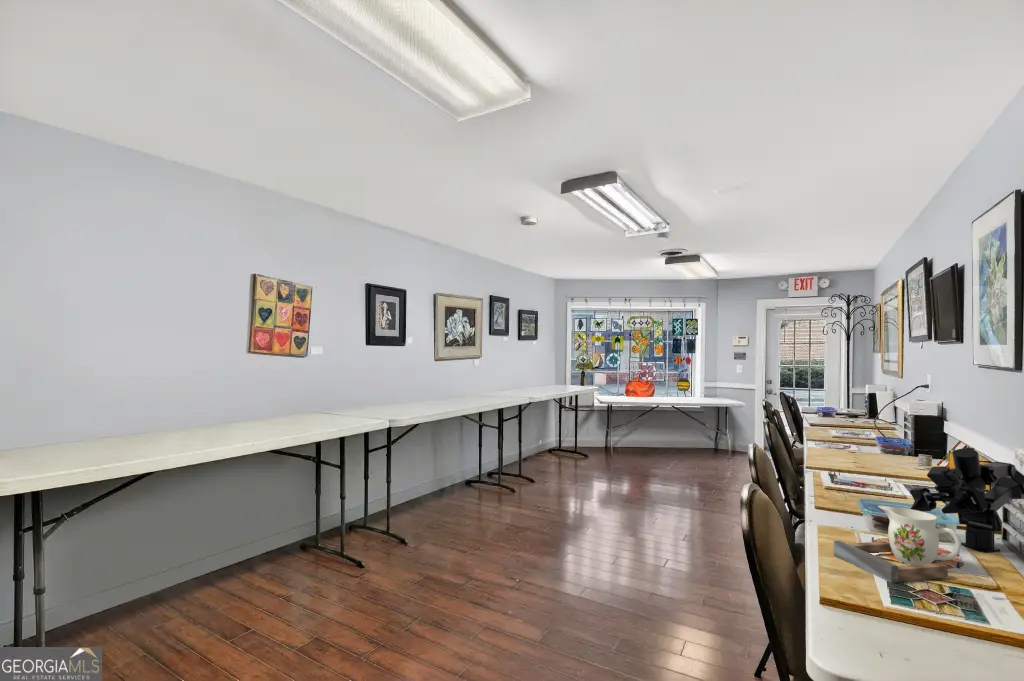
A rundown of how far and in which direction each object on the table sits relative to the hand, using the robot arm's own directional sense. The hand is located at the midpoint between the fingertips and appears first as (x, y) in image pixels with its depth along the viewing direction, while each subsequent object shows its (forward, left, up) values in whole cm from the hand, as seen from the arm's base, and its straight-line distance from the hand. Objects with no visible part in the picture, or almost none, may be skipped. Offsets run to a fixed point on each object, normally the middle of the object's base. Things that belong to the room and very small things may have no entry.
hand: (926, 511), depth 149 cm
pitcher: (+6, +3, -13) cm, 15 cm away
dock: (+16, +3, -13) cm, 21 cm away
